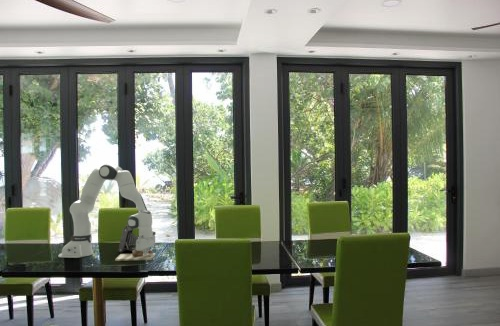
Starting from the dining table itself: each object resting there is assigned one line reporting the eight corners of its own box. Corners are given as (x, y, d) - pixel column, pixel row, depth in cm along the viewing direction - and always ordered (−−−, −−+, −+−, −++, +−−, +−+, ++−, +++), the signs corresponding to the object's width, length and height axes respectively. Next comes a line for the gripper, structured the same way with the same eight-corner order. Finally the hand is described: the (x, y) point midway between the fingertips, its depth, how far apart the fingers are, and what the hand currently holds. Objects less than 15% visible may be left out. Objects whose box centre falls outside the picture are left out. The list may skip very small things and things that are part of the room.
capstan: (132, 256, 257) (132, 251, 257) (132, 254, 264) (132, 248, 264) (152, 255, 260) (152, 249, 260) (152, 252, 267) (152, 247, 267)
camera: (136, 258, 272) (143, 231, 272) (116, 251, 276) (122, 225, 275) (144, 254, 283) (150, 229, 282) (124, 248, 286) (130, 222, 286)
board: (115, 260, 252) (115, 258, 252) (120, 255, 265) (120, 253, 265) (152, 259, 254) (152, 257, 254) (155, 254, 268) (155, 252, 268)
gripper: (141, 237, 248) (141, 258, 248) (156, 231, 268) (156, 251, 268) (133, 236, 249) (133, 257, 249) (148, 231, 269) (148, 250, 269)
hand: (145, 254), depth 259 cm, fingers closed
